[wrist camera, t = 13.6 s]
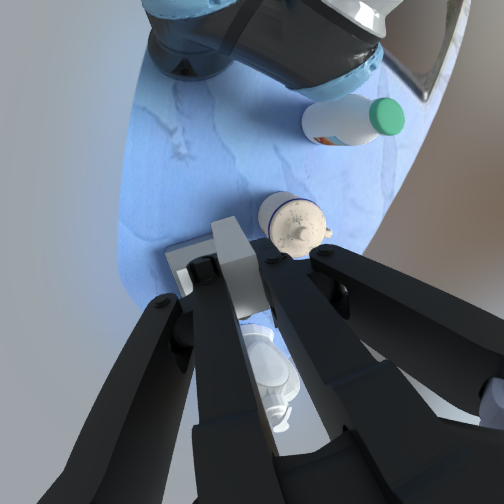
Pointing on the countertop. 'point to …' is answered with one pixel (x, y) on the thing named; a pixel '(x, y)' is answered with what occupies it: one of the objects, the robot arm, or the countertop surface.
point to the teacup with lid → (292, 223)
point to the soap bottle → (271, 374)
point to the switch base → (187, 259)
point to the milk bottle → (352, 120)
